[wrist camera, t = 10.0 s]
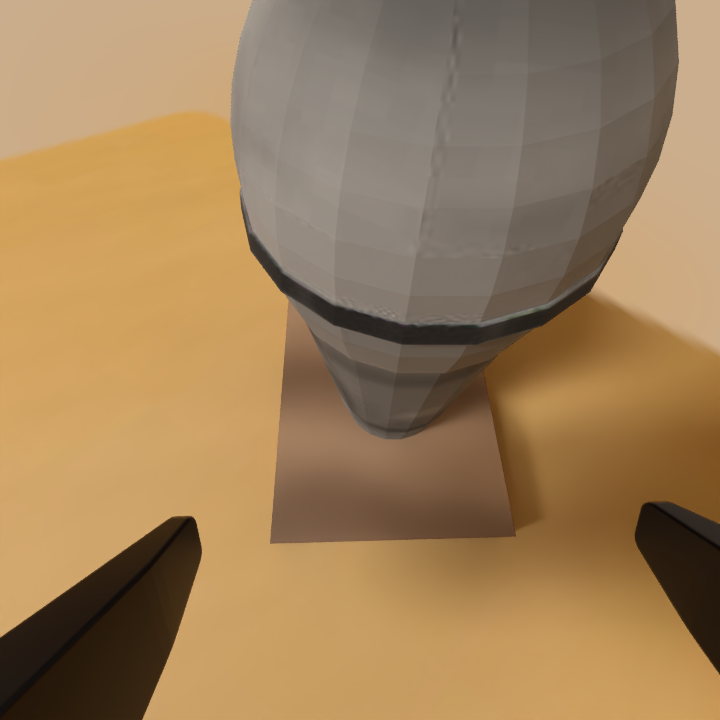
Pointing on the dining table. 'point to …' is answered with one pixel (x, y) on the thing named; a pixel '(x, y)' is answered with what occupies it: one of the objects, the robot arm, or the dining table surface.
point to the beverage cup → (442, 174)
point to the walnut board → (380, 464)
